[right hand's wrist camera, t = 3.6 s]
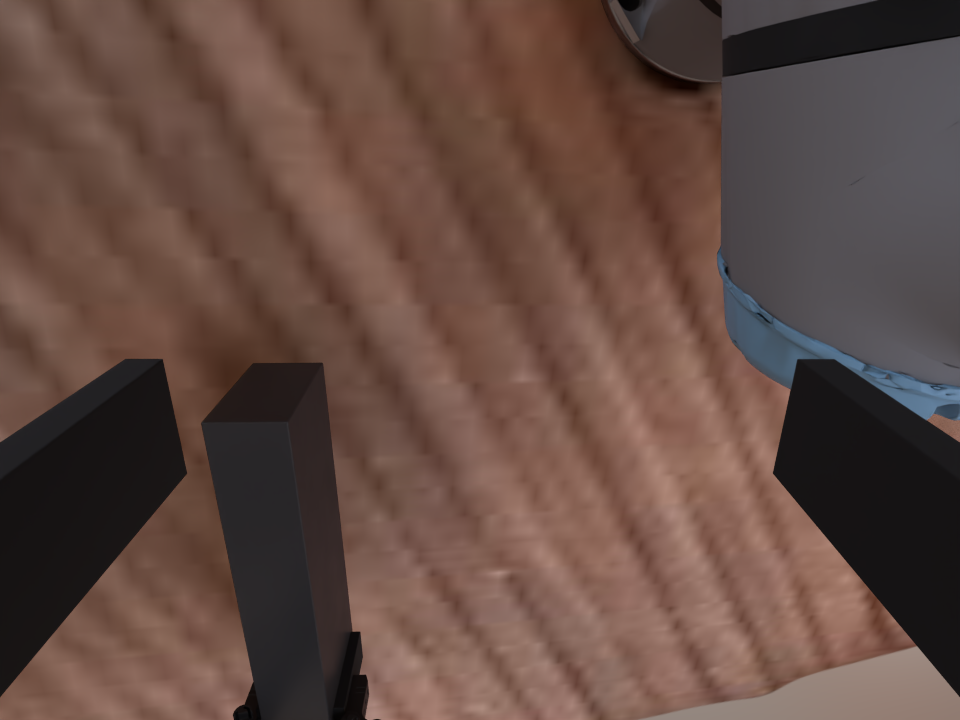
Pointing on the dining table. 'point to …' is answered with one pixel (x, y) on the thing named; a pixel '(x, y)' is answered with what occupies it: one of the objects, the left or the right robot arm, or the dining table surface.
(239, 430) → the bar
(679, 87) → the dining table surface
